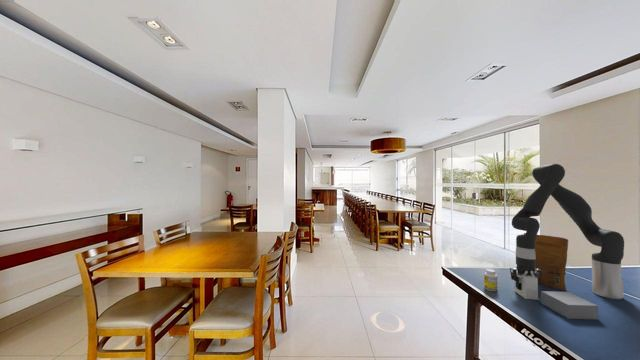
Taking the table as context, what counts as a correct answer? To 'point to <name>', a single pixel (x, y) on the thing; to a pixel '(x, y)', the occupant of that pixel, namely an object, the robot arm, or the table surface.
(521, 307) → the table surface
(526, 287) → the small box
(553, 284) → the pancake mix bag
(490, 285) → the supplement bottle
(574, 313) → the base block
